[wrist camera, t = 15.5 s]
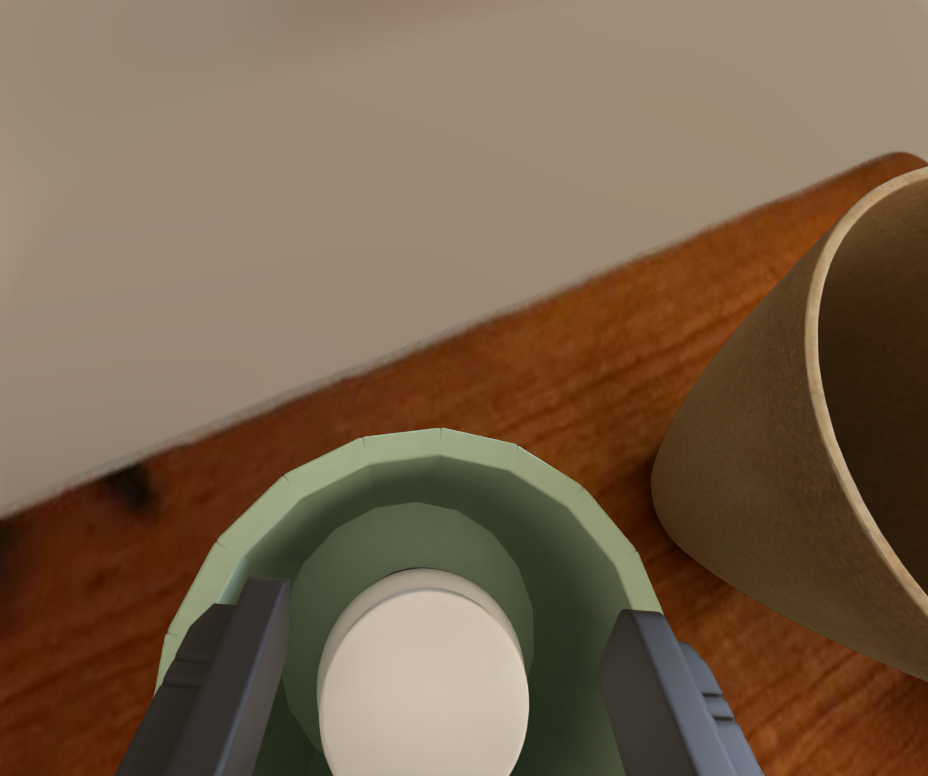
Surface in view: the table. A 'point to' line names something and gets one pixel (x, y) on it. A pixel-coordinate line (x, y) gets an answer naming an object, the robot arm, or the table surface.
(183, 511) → the table surface
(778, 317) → the plant pot
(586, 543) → the tin
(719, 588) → the table surface
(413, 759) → the pill bottle
